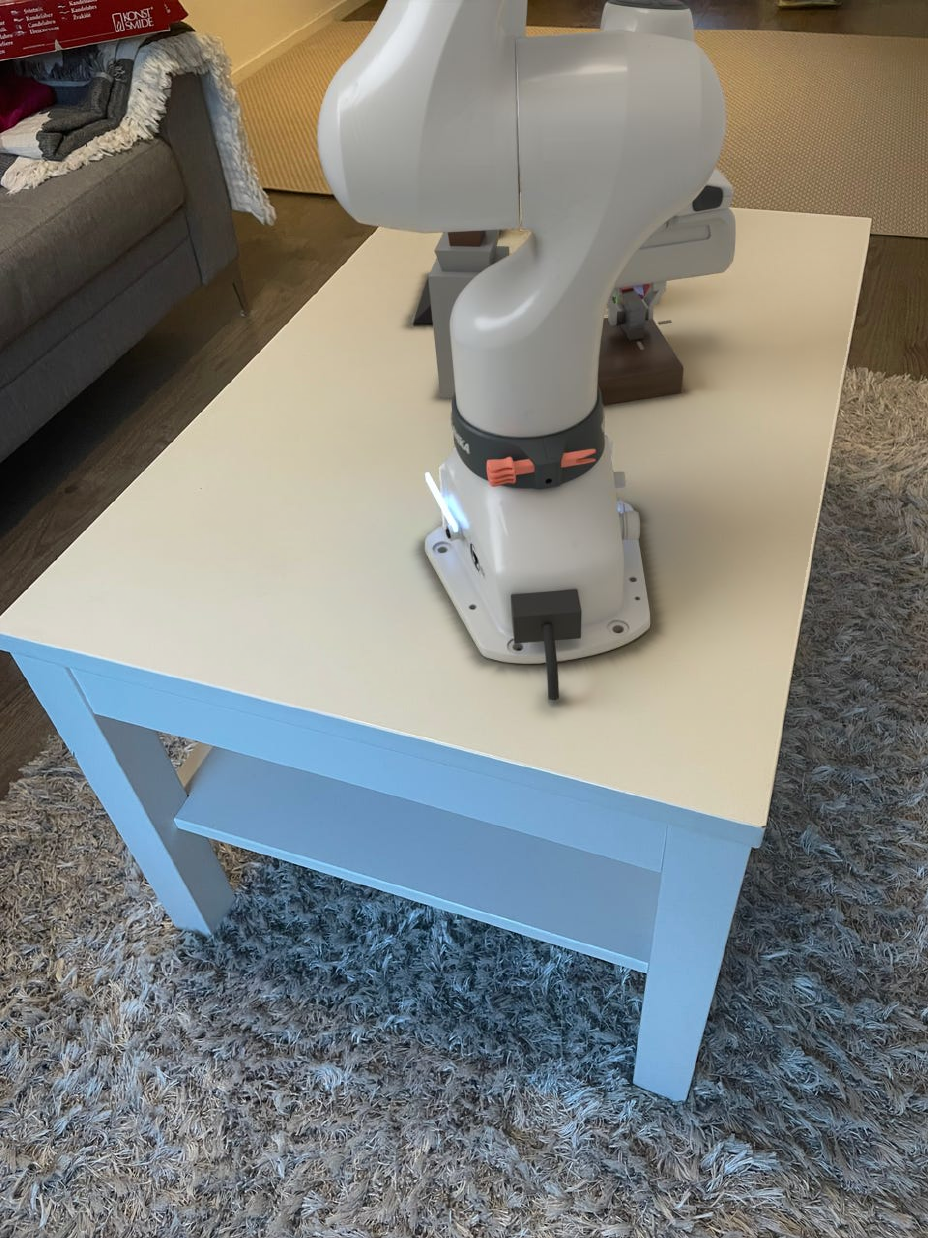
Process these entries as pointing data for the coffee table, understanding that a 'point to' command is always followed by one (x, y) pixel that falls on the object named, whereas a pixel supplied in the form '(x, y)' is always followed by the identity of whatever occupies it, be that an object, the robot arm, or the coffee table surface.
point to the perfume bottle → (456, 287)
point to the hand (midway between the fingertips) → (630, 320)
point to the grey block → (632, 312)
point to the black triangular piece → (424, 309)
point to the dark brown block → (637, 365)
